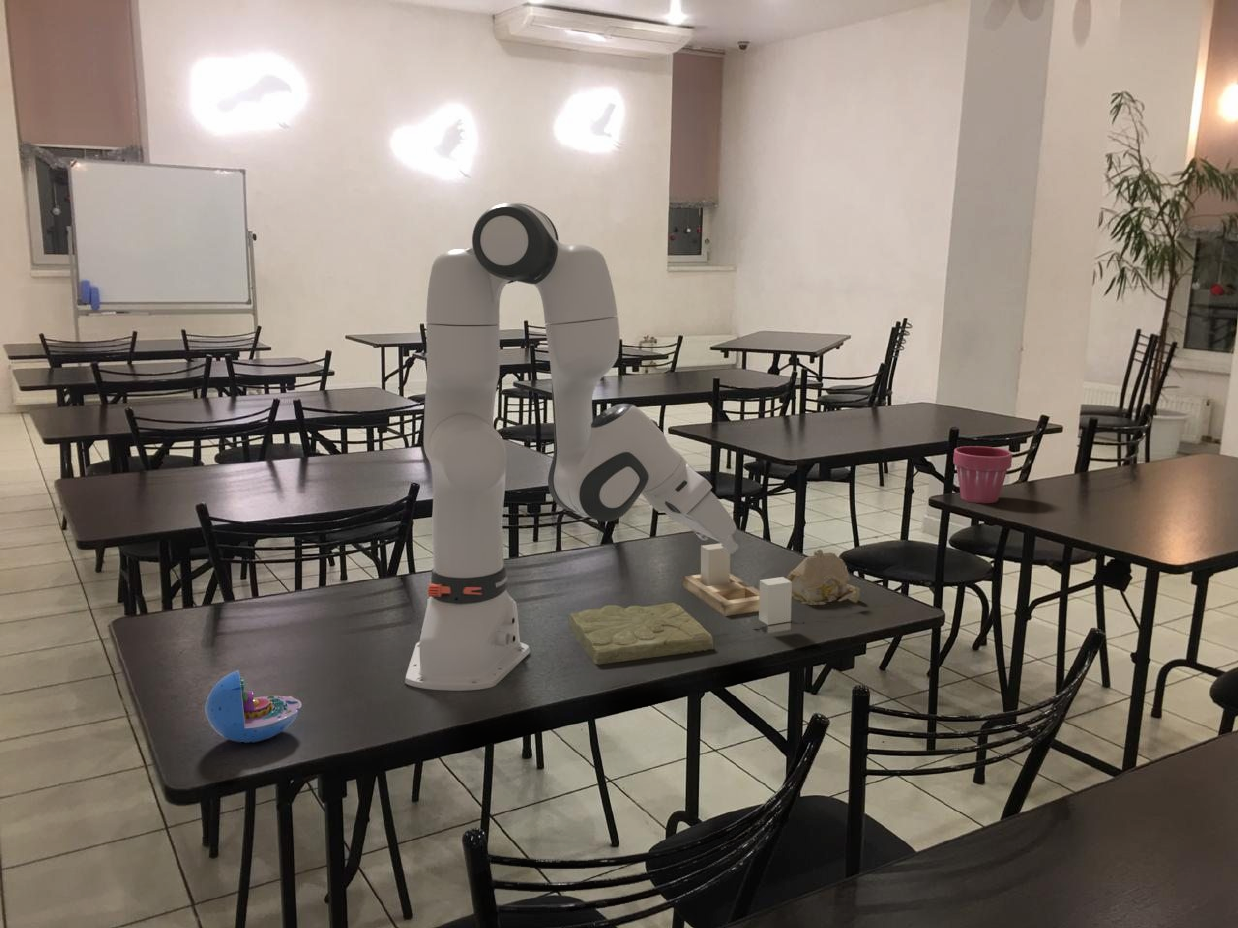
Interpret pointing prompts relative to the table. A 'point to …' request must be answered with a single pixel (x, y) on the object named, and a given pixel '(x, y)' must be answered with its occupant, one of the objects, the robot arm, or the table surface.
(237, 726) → the cell model
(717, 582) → the white upright prism
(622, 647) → the decorative tile
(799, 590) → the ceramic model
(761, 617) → the white rectangular block
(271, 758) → the table surface
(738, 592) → the rack
